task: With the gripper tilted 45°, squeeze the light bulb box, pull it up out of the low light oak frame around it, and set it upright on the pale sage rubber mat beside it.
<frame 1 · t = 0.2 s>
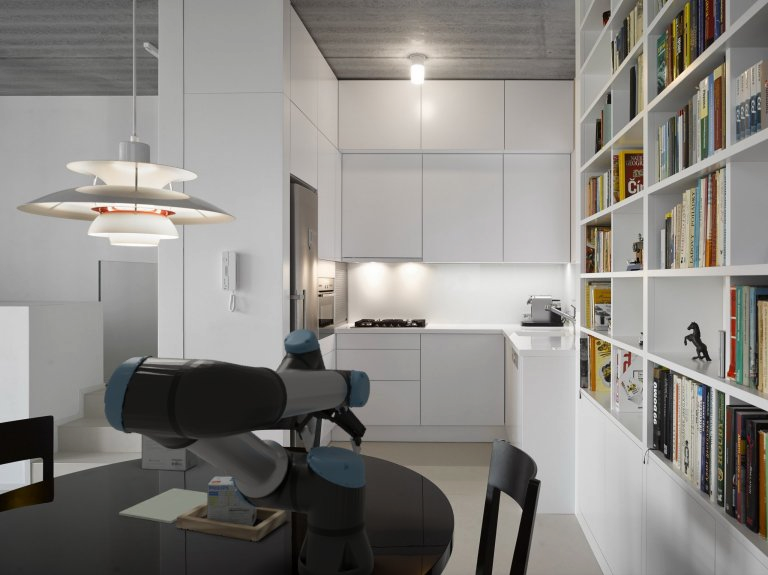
hand: (333, 450, 148), 15 cm above the table, tool tilted 35°, fingers open, 13 cm apart
hard drive box: (169, 467, 186), on the table
oak frame: (232, 524, 139), on the table
sage mat: (172, 505, 151), on the table
light bulb box: (232, 525, 139), resting in oak frame
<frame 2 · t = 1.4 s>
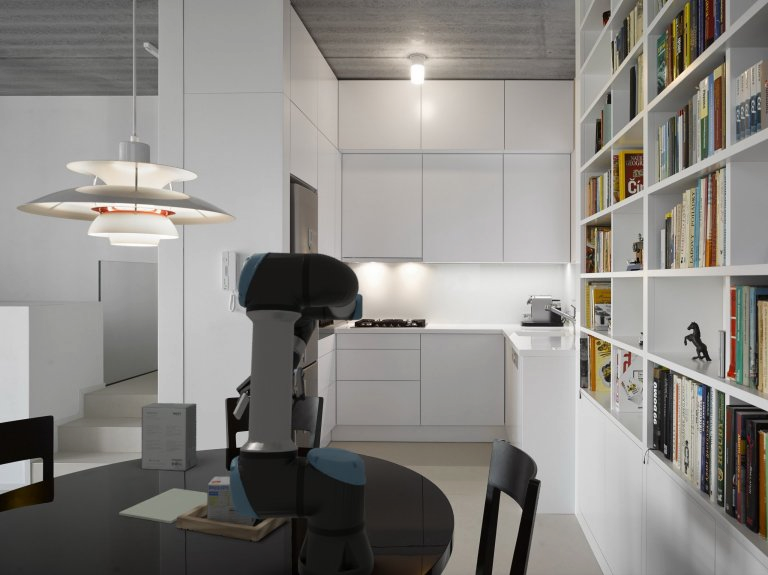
hand: (258, 418, 150), 23 cm above the table, tool tilted 45°, fingers open, 13 cm apart
nothing on the table moved.
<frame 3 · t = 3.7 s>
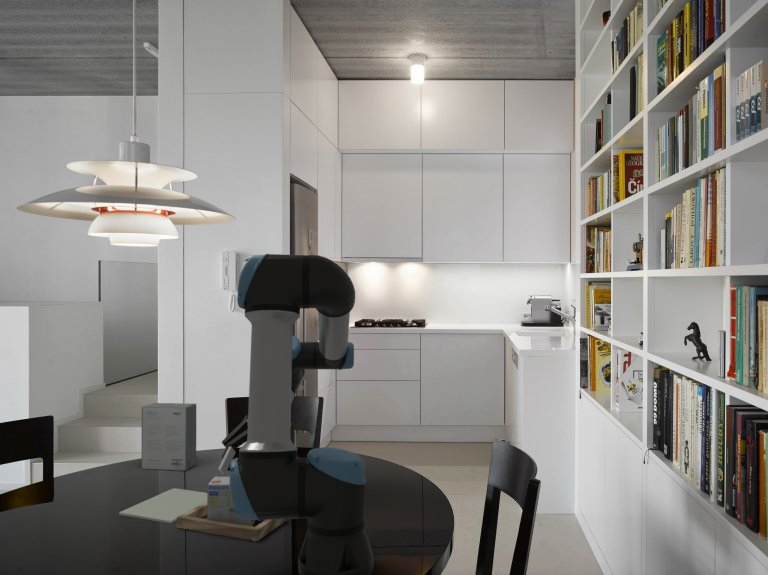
hand: (244, 475, 145), 10 cm above the table, tool tilted 45°, fingers open, 13 cm apart
nothing on the table moved.
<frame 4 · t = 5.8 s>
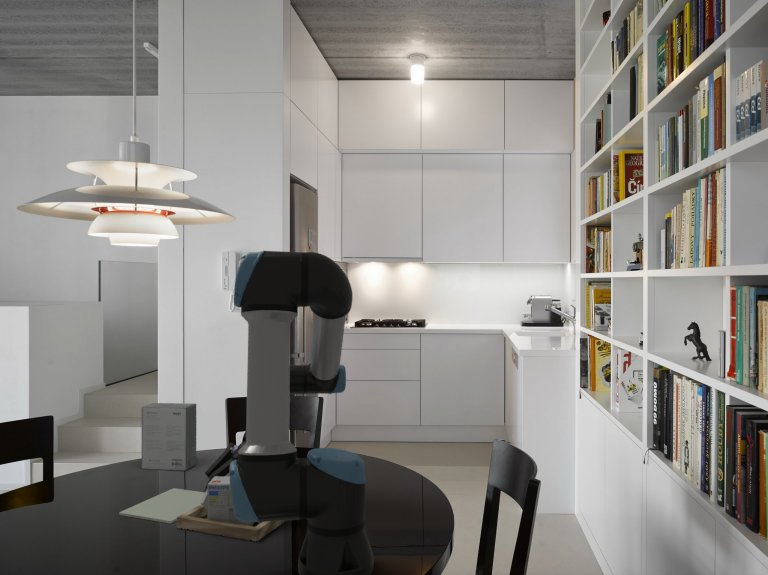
hand: (226, 509, 137), 4 cm above the table, tool tilted 45°, fingers closed on light bulb box, 12 cm apart
light bulb box: (232, 525, 139), resting in oak frame, touching gripper
everything else where it was.
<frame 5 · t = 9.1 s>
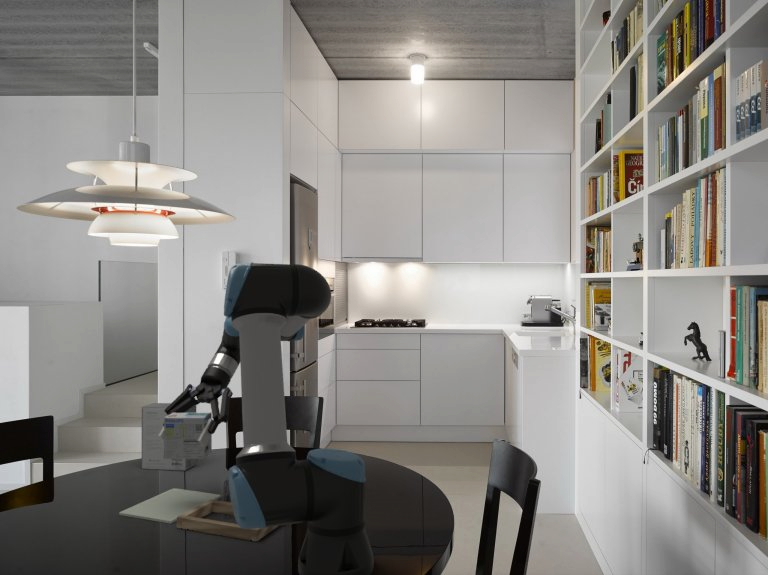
hand: (181, 441, 148), 18 cm above the table, tool tilted 45°, fingers closed on light bulb box, 12 cm apart
light bulb box: (188, 456, 151), point 13 cm above the table, touching gripper
everything else where it was.
when the fingers open (6 cm above the table, at t = 12.5 s): light bulb box drops 1 cm, resting on sage mat.
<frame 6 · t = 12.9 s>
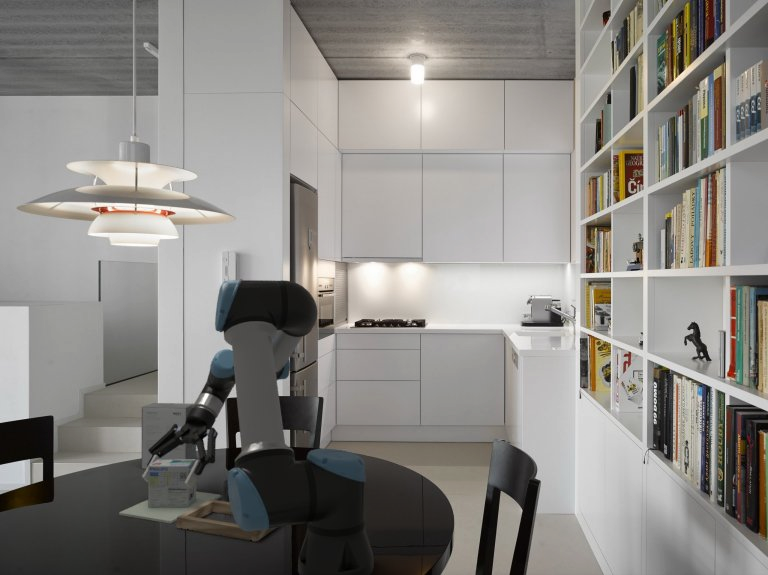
hand: (166, 482, 149), 7 cm above the table, tool tilted 45°, fingers open, 13 cm apart
light bulb box: (172, 503, 152), resting on sage mat
everything else where it was.
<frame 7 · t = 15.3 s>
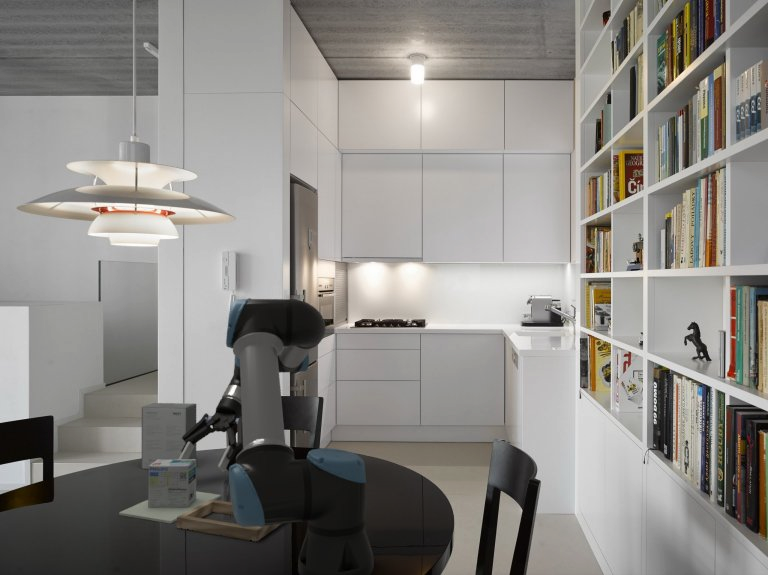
hand: (200, 466, 161), 7 cm above the table, tool tilted 45°, fingers open, 13 cm apart
nothing on the table moved.
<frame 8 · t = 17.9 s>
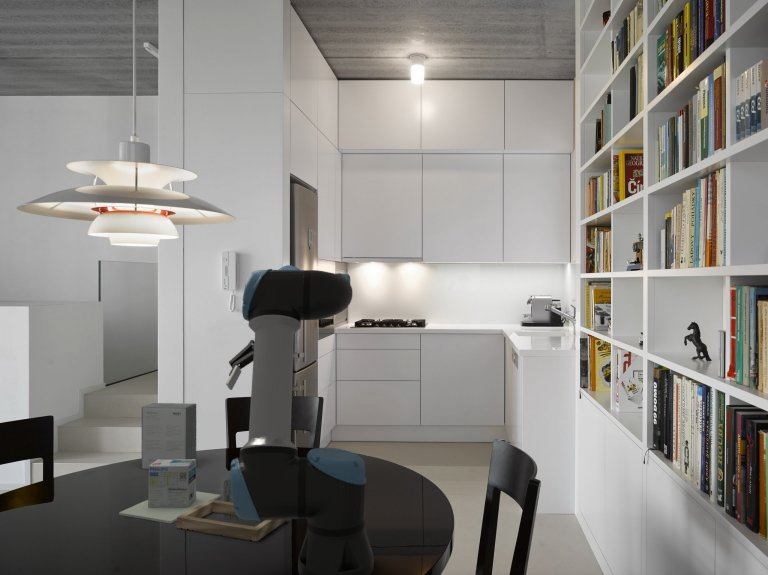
hand: (249, 388, 159), 30 cm above the table, tool tilted 45°, fingers open, 13 cm apart
nothing on the table moved.
at the end: light bulb box inside the target area on the sage mat (0.1 cm from its centre), point 0.4 cm above the sage mat's base; light bulb box tilted 0°; the gripper is holding nothing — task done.
